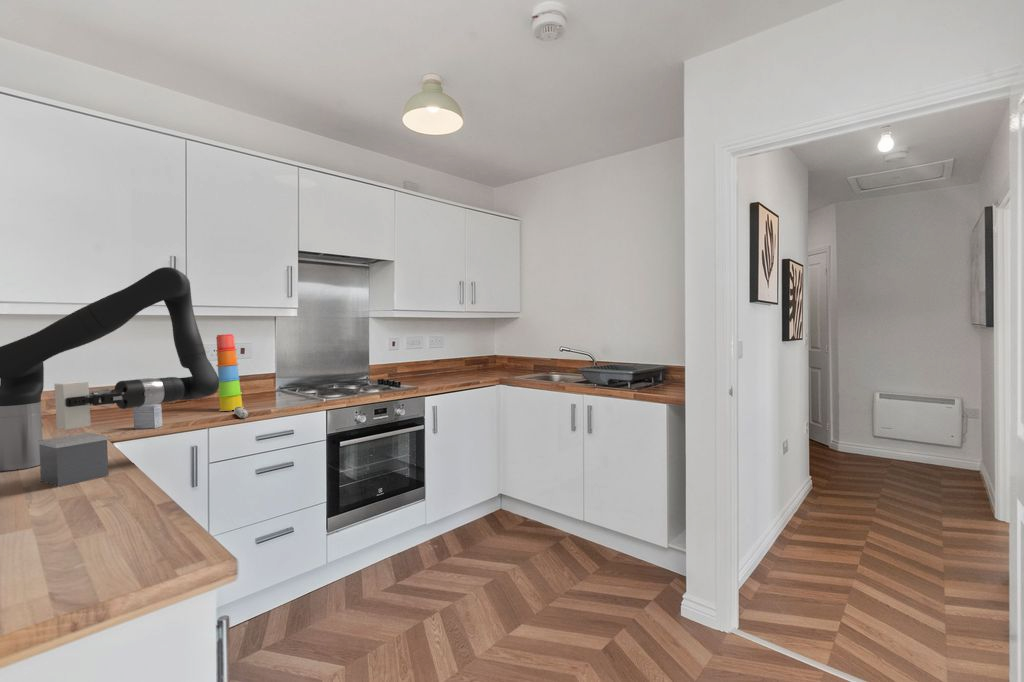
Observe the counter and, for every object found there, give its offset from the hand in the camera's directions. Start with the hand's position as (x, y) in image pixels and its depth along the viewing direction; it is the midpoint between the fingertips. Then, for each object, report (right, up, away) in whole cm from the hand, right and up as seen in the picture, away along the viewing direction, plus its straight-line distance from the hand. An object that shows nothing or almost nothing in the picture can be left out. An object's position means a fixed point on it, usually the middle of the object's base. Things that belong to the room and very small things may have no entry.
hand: (61, 402), depth 125 cm
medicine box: (-28, -18, +68) cm, 76 cm away
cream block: (+1, -6, +2) cm, 7 cm away
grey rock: (-4, -17, +90) cm, 92 cm away
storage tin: (+1, -19, +2) cm, 19 cm away
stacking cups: (-18, -17, +108) cm, 111 cm away
